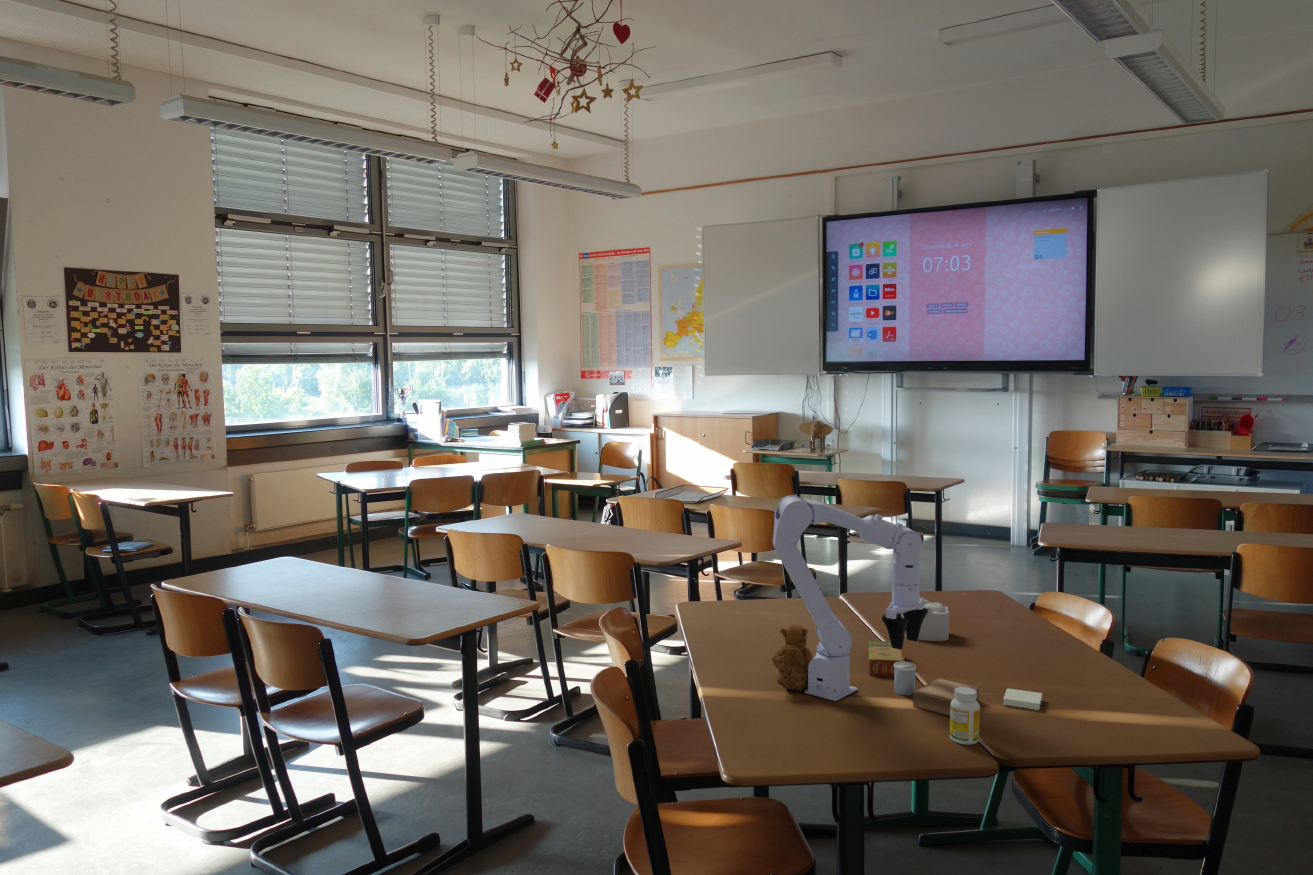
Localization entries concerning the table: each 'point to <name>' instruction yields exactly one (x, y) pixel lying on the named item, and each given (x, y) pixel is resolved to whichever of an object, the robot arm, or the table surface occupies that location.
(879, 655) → the carton
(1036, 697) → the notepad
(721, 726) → the table surface
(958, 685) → the box
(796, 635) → the brown teddy bear
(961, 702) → the supplement bottle
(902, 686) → the cup
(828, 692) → the robot arm
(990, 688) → the table surface
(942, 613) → the lumpy-topped squat cylinder
